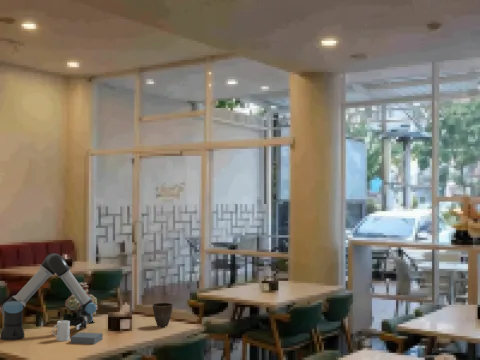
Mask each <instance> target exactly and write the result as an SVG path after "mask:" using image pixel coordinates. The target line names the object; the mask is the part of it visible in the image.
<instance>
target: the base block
mask: <svg viewBox="0 0 480 360" xmlns="http://www.w3.org/2000/svg"><path fill="white" fill-rule="evenodd" d="M102 340H103V333H102V332H101V333H99V332H78V333H76V334H74V335H72V336H70V344H77V345H80V344H82V345H95V344H97V343H100V342H101V341H102Z"/></svg>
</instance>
